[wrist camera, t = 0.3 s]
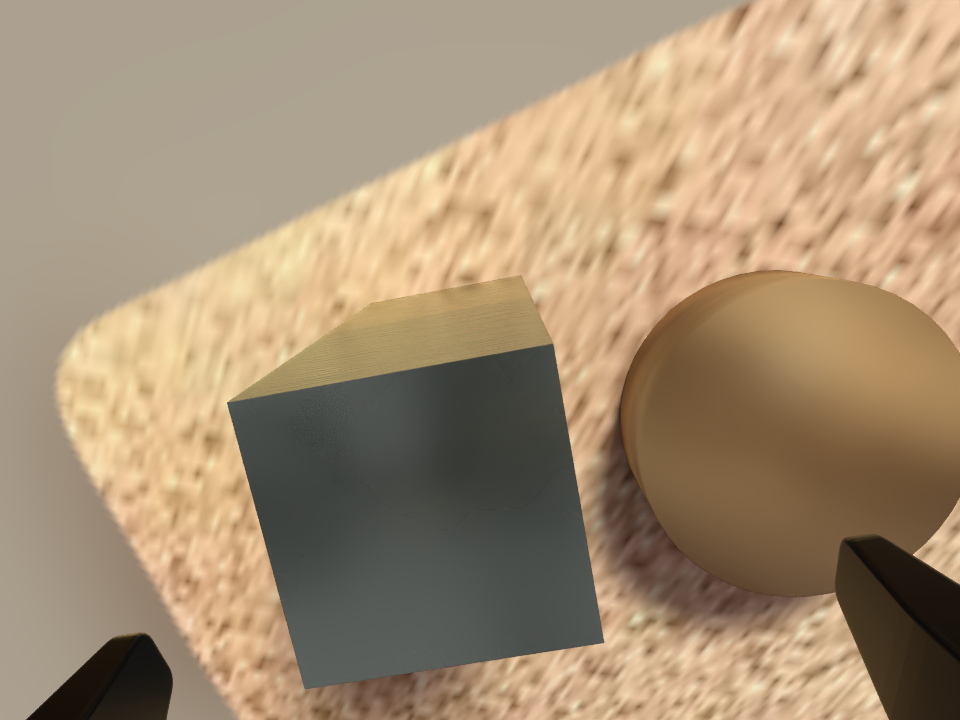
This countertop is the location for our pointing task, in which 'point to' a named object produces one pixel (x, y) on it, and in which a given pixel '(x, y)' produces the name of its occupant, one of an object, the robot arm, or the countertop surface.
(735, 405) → the pedestal
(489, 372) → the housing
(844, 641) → the countertop surface
